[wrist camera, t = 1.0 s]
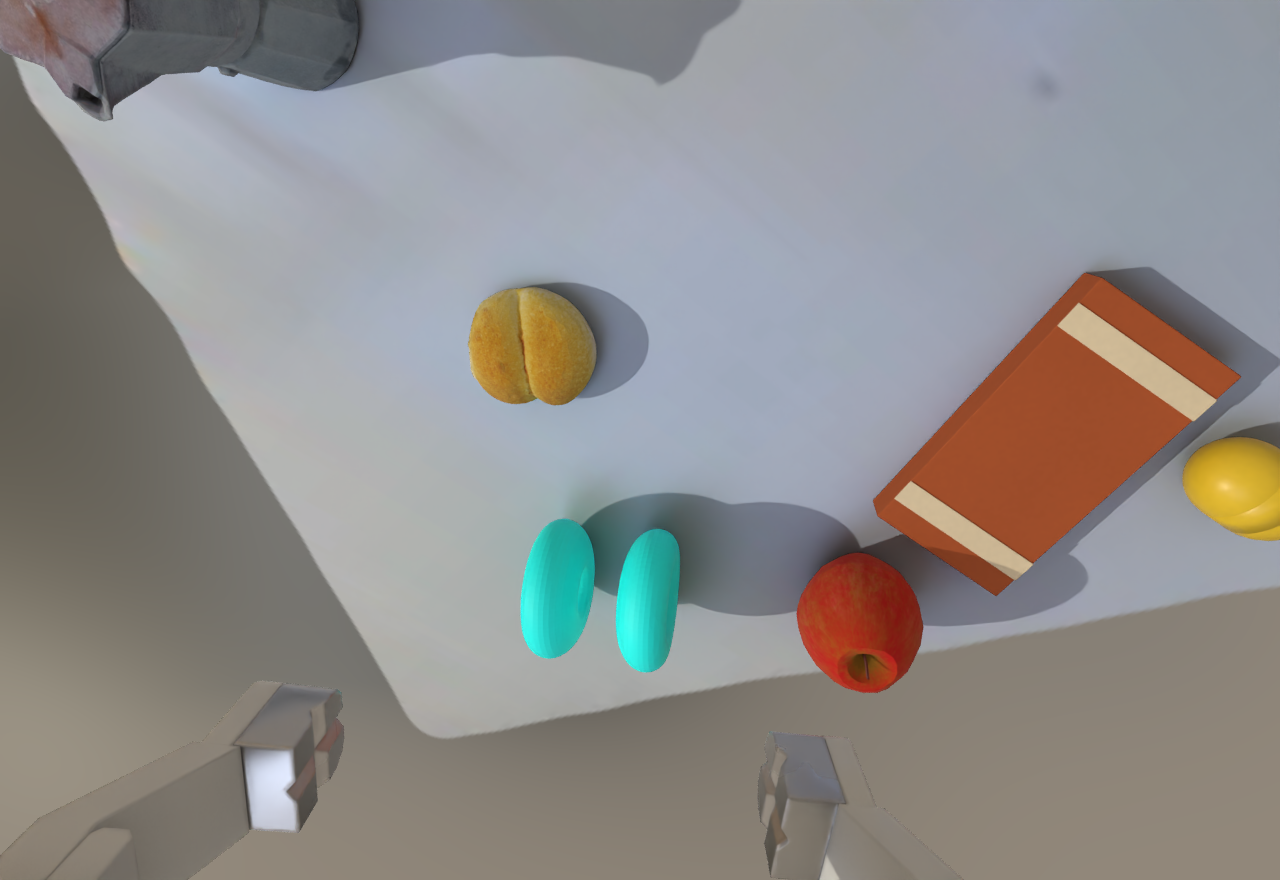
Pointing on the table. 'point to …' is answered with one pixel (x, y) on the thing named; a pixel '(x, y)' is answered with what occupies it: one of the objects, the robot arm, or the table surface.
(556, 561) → the donuts
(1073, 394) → the tea towel
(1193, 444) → the table surface
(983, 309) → the table surface
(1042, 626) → the table surface
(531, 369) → the bread roll
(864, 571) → the apple
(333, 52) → the moka pot
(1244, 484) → the lemon
